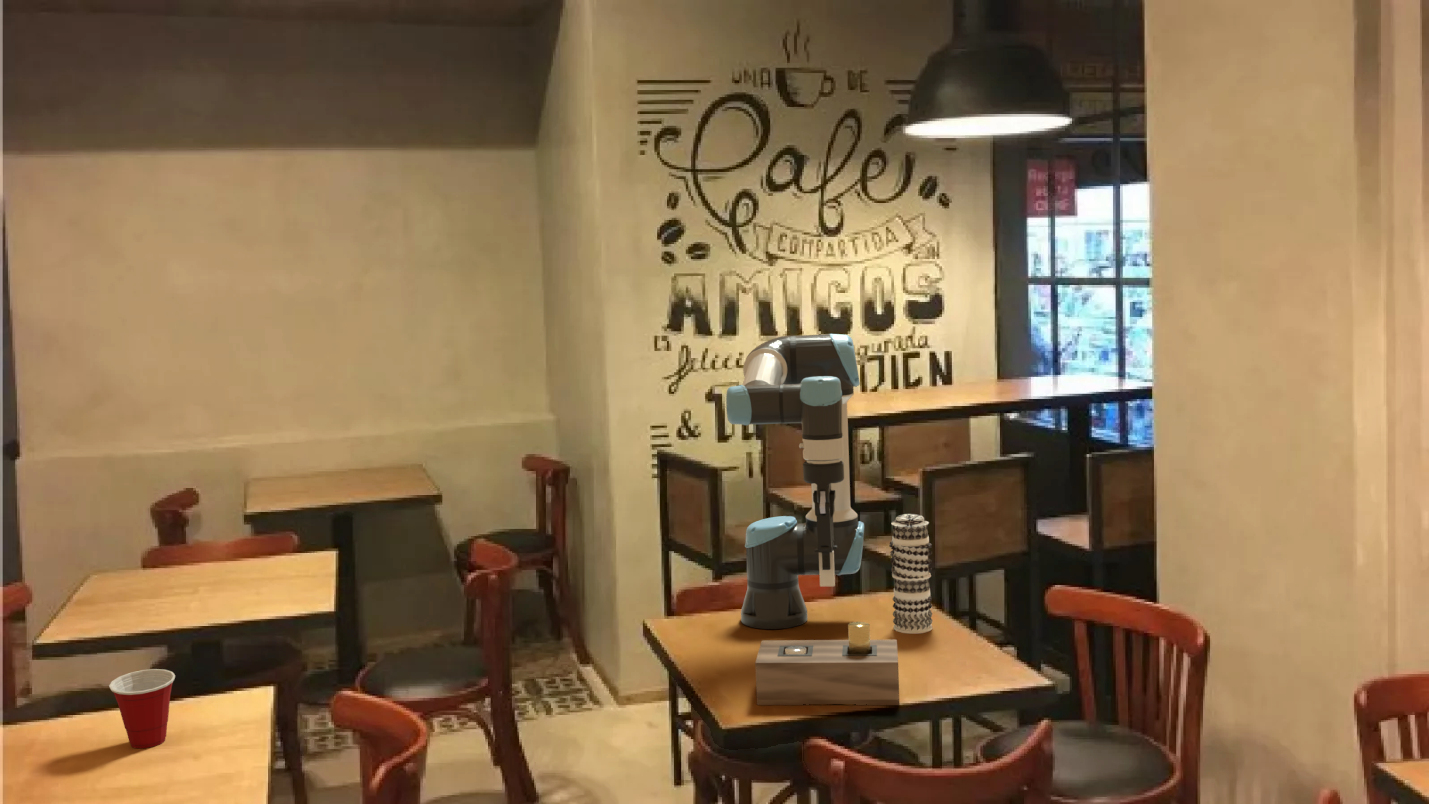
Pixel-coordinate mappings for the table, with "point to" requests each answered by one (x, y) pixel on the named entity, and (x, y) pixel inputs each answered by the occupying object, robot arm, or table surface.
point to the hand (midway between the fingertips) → (827, 585)
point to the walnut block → (827, 673)
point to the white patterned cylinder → (911, 574)
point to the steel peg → (795, 650)
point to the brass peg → (859, 638)
